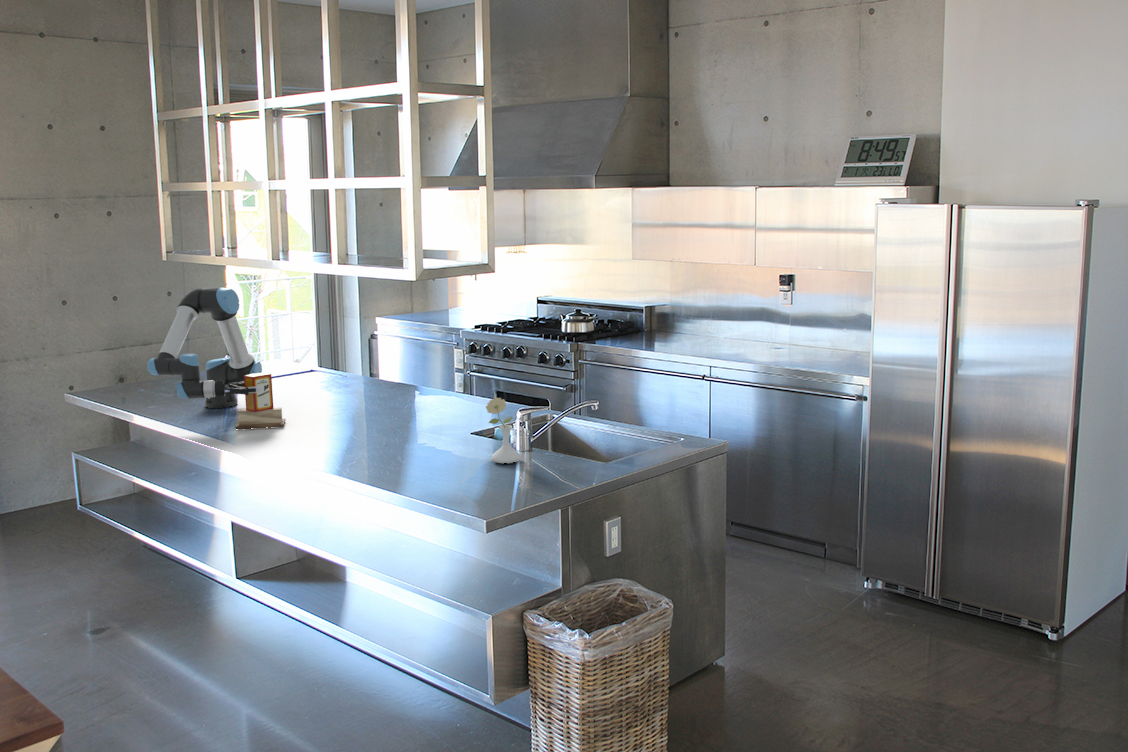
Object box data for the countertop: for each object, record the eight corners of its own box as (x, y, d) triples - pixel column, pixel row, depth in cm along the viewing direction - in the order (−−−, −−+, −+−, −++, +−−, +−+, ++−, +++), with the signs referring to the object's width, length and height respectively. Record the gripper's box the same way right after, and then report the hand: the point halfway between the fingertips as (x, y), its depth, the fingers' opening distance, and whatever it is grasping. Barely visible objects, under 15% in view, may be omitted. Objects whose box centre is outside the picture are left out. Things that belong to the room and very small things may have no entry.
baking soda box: (264, 406, 423) (262, 371, 420) (273, 408, 419) (271, 373, 416) (246, 410, 415) (243, 374, 412) (255, 412, 411) (252, 376, 408)
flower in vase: (521, 457, 362) (520, 394, 357) (521, 465, 350) (520, 400, 346) (487, 458, 361) (486, 394, 357) (486, 466, 350) (484, 400, 346)
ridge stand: (239, 424, 422) (238, 407, 421) (285, 421, 426) (284, 405, 425) (235, 430, 411) (234, 413, 409) (283, 427, 415) (282, 411, 413)
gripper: (219, 391, 424) (268, 389, 428) (211, 402, 400) (263, 400, 404) (218, 375, 423) (267, 373, 427) (210, 385, 399) (262, 383, 403)
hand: (265, 386), depth 416 cm, fingers open, 13 cm apart
